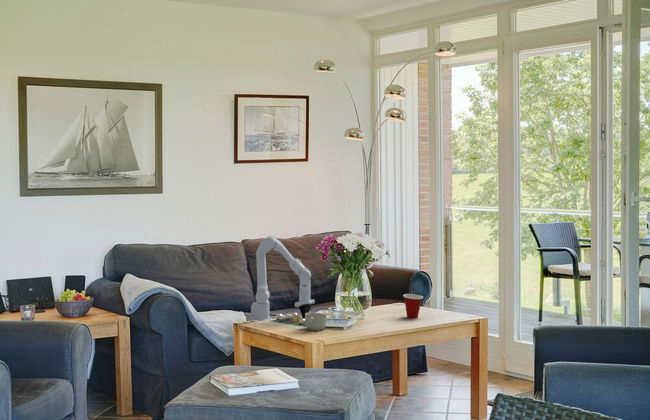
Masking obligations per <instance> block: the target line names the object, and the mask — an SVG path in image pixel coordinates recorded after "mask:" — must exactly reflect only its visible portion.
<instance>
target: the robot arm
mask: <svg viewBox="0 0 650 420" xmlns="http://www.w3.org/2000/svg"><path fill="white" fill-rule="evenodd" d="M270 250H272V251H276V252H279V253H280V255H282V256H283V258H284V259H285V260H286V261H288V263H289V265H288V266H289V268H290V269H291V270H292V271H293V272H294V274H295V275H297V276H298V278H299V296H298V297H299V298H298V299H299V300H298V301H296V302H294V308H295V307H296V308H298V309H299V311H300V316H301V318H304V319H305V313H310V310H311V309H312V305H313V304H315V302H316V301H315V299H311V277H312V273H311V271H310V269H308V267H306V266H305V265H304V264H303V263H302V260H301V259H299V258H294V257H293V256H292V254H291V253H290V251H288V249H287V248H286V247H285V246H284V244H283V243H282V242H281V241H280V240H279V239H277V237H276V236H275V235H269V236H267V237H265V238H264V239H263V240H261V242H260V243H259V246H258V248H257V249H256V251H255V257H256V259H255V260H256V275H257V277H256V279H257V286H256V287H257V288H256V294H255V297H254V298H255V300H256V301H254V302H252V304H251V306H250V318H249V319H250V320H254V321H263V322H266V321H271V320H274V319H273V318H272V317H270V301H269V299H270V296H271V293H270V291H269V287H268V283H267V281H268V280H267V279H268V278H267V261H266V259H267V258H266V254H267V253H269V251H270Z"/></svg>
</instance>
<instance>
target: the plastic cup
mask: <svg viewBox="0 0 650 420" xmlns="http://www.w3.org/2000/svg"><path fill="white" fill-rule="evenodd" d="M403 298H404V299H403V300H404V303H405V304H404V305H405V312H406V317H407V318H408V319H418V318H419V314H420V313H419V312H420V308H421V304H422V301H423V299H424V296H422V295H420V294H413V293H405V294H403Z"/></svg>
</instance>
